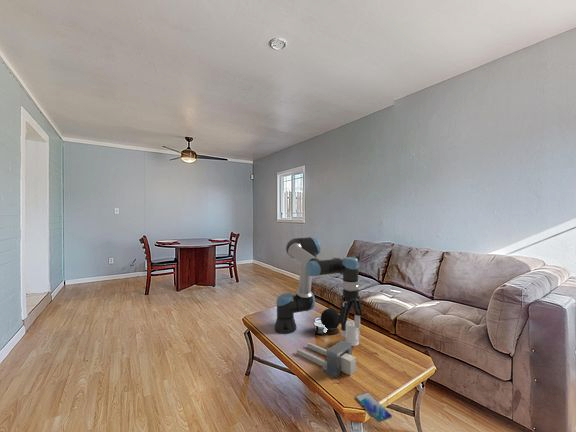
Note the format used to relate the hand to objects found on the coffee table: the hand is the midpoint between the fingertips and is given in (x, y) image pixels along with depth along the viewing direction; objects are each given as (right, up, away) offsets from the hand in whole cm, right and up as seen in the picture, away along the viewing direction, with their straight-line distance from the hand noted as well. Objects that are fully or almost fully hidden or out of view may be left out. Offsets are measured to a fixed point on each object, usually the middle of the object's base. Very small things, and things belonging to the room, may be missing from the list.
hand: (351, 332), depth 132 cm
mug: (+8, -20, +29) cm, 36 cm away
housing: (-5, -20, +5) cm, 21 cm away
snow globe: (-3, -20, +46) cm, 50 cm away
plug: (-5, -20, +5) cm, 21 cm away
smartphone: (+3, -21, -23) cm, 31 cm away
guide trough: (-15, -20, +15) cm, 29 cm away
